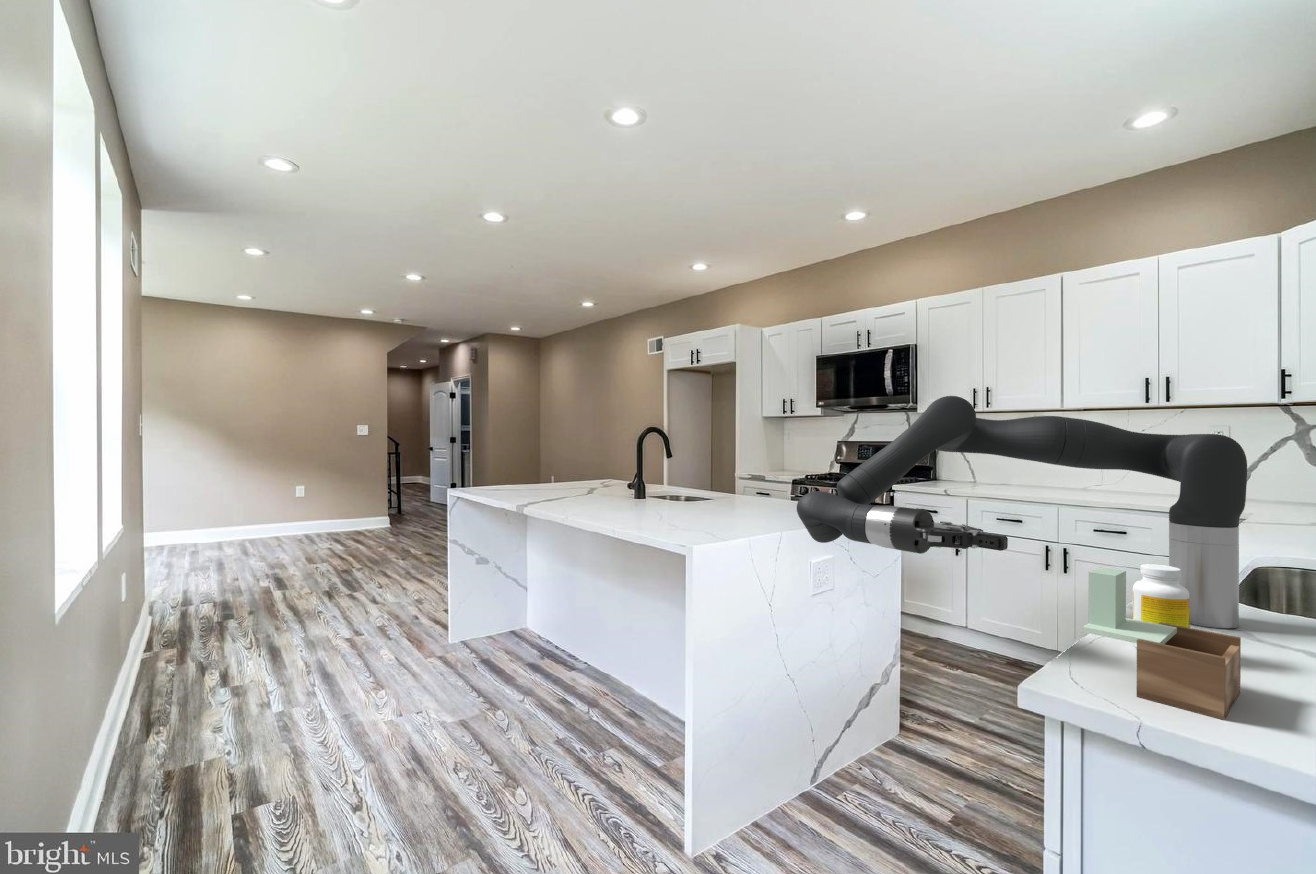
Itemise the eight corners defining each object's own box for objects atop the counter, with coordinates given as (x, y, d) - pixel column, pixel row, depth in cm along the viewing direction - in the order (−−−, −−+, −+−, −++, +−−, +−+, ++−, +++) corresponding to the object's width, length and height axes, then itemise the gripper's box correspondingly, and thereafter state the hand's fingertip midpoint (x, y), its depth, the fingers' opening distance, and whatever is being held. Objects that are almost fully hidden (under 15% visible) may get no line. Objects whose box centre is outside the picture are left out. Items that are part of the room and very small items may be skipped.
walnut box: (1159, 673, 82) (1159, 622, 82) (1240, 692, 76) (1240, 637, 76) (1136, 696, 75) (1136, 640, 75) (1224, 720, 69) (1224, 658, 69)
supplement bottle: (1200, 661, 87) (1201, 572, 87) (1148, 658, 88) (1148, 570, 88) (1171, 646, 94) (1171, 563, 94) (1123, 643, 95) (1123, 561, 95)
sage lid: (1104, 618, 86) (1104, 565, 86) (1176, 632, 80) (1177, 575, 80) (1082, 632, 80) (1083, 574, 80) (1159, 648, 74) (1159, 585, 74)
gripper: (879, 509, 101) (988, 522, 88) (918, 505, 110) (1023, 516, 96) (878, 553, 101) (986, 573, 88) (917, 546, 110) (1022, 563, 96)
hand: (1005, 543), depth 92 cm, fingers closed
